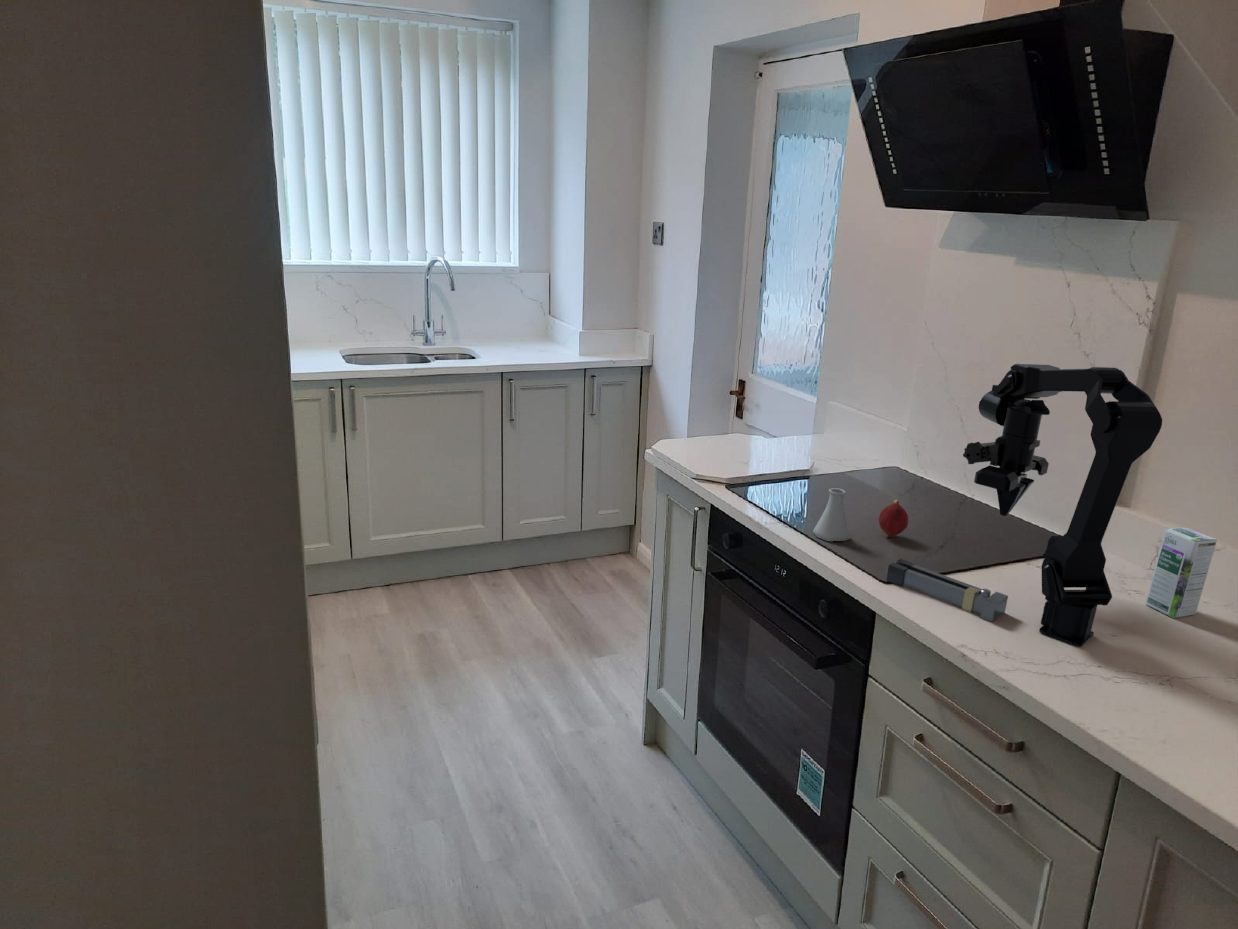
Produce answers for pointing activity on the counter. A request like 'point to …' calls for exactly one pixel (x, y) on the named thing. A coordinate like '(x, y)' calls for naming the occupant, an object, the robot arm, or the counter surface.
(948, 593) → the tongs
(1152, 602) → the syrup box
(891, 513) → the onion
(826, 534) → the flask
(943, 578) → the tongs arm
